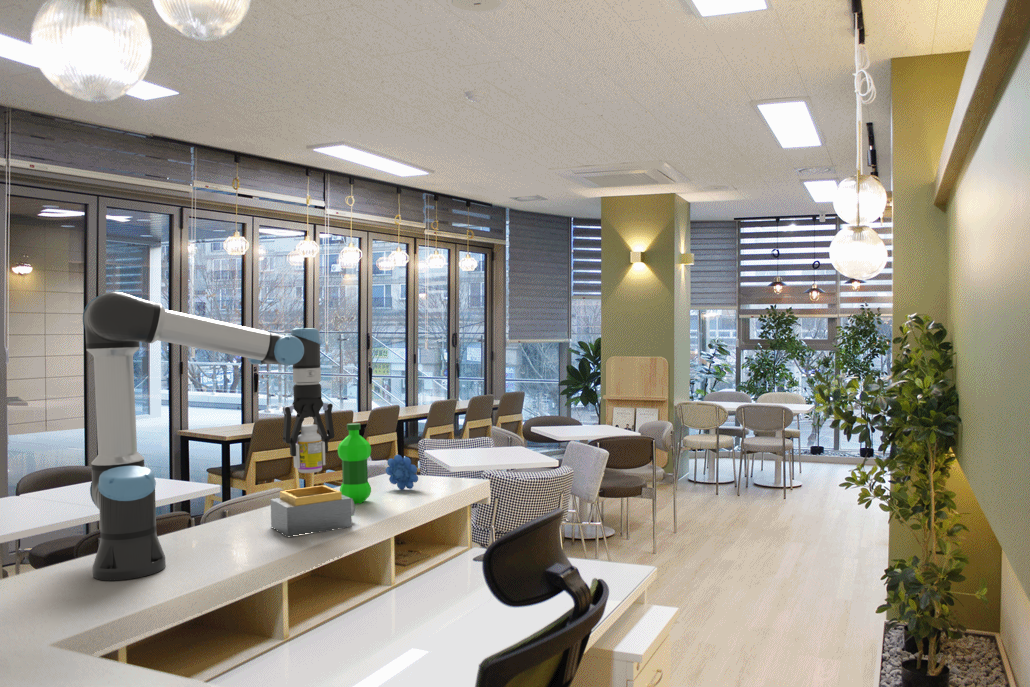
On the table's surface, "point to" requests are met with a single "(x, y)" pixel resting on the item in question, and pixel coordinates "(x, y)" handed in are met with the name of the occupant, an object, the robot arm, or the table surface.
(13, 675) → the table surface
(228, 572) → the table surface
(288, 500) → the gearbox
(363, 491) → the plastic bottle
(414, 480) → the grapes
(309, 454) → the supplement bottle
